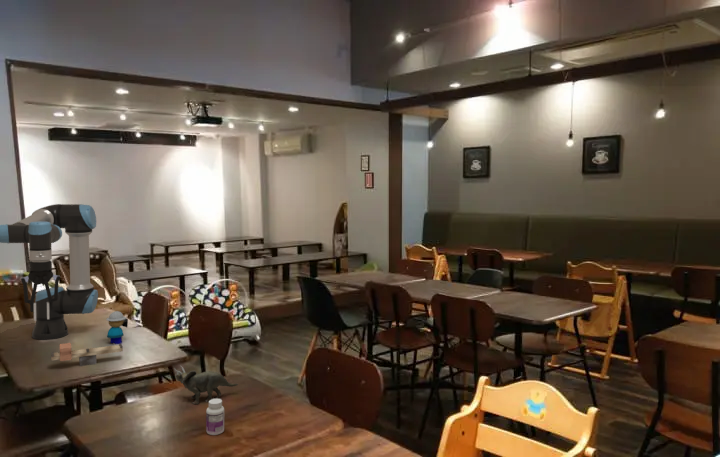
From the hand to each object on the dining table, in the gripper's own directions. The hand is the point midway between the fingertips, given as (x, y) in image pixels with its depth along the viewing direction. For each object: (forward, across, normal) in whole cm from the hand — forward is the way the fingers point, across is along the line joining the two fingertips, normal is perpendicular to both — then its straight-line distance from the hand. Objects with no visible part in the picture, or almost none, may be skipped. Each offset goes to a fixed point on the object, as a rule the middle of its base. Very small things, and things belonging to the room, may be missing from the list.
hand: (41, 318), depth 204 cm
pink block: (+17, +8, 0) cm, 19 cm away
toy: (+21, +30, +26) cm, 45 cm away
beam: (+21, +16, 0) cm, 26 cm away
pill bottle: (+21, +45, -85) cm, 98 cm away
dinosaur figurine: (+21, +49, -59) cm, 80 cm away
